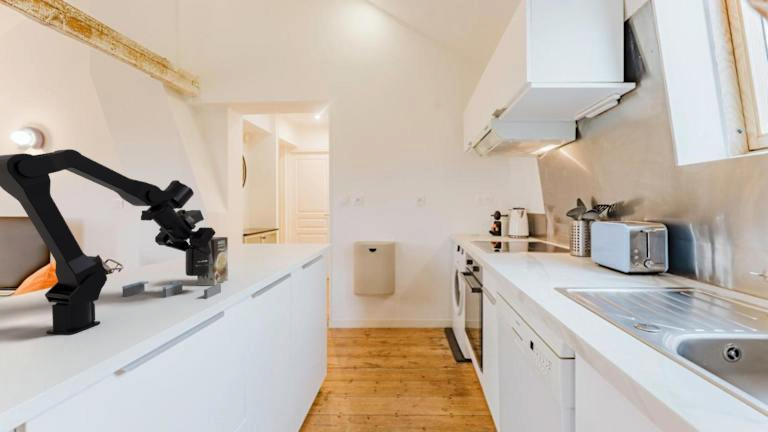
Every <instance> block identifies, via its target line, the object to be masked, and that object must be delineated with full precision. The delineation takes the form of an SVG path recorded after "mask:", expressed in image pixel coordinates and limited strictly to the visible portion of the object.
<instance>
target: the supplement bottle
mask: <svg viewBox="0 0 768 432" xmlns="http://www.w3.org/2000/svg"><path fill="white" fill-rule="evenodd" d="M188 240H189V241H188V243H189V246H187V247H186V252H185V275H186V276H188V277H197V276H201V275H207V274H209V273H210V255H208V254H205V253H203V252H201V251H199V250H197V249H194V248H192V247H193V246H194V245H192V244H191V239H188Z"/></svg>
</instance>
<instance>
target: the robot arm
mask: <svg viewBox="0 0 768 432" xmlns="http://www.w3.org/2000/svg"><path fill="white" fill-rule="evenodd" d="M64 170H65V171H68V172H69V173H72V174H75V175H77V176H80V177H81V178H84V179H86V180H88V181H91V182H92V183H95V184H97V185H100V186H102V187H104V188H107V189H108V190H111V191H113V192H115V193H116V194H117V195H118V196H119V197H120V198H121V199H123V200H124V201H126V202H127V203H129V204H130V205H132V206H134V207H148V208H147V209H146V210H141V215H140V220H141V221H150V222H151V221H154V222H155V223H156V225H158V226H159V227H160V228H159V229H158V231H159V232H158V233H157V235H156V236H155V237H154V241H155V243H156V244H157V245H159V246H164V247H166V248H172V249H175V250H178V251H181V252H184V253H186V247H187V246H189V245H190V243H189V241H188V240H189V239H191V244H192V245H194V246H193V247H192V248H194V249H197V250H199V251H201V252H203V253H205V254H208V255H210V254H211V249H210V246H209V241H210V240H211V239H212V237H214V236H215V235H216V234H217V233H216V231H215V229H214V228H213V227H207V226H206V227H204V226H203V227H199V228H198V229H197V230H196V231H195V230H194V229H195V228H196V227H197V225H196V224H198V223H200V222H203V221H204V220H205V218H204V216H203V213H202V210H200V209H196V210H195V209H191V210H186V209H183V208H184V206H185V205H186V204H187V203H188V202H189V201H190V199H191V198H192V197H193V196H194V190H193V189H192V188H191V187H190V186H188V185H186V184H185V183H182V182H180V180H178V179H177V180H176V179H175V180H172V181H171V182H170V183H169V185H168V186H166V188H165V189H164V190H163V189H161V188H160V187H159V186H157V185H155V184H152V183H148V182H147V181H143V180H139V179H138V180H137V179H133V178H129V177H127V176H125V175H123V174H122V173H120V172H118V171H115V170H113V169H112V168H109V167H107V166H106V165H104V164H101V163H99V162H98V161H95V160H94V159H92V158H89V157H87V156H86V155H83V154H82V153H81V152H79V151H77V150H75V149H69V148H68V149H58V150H54V151H52V152H46V153H40V154H34V155H33V154H30V153H26V152H24V153H15V154H11V153H10V154H2V155H1V154H0V188H1V189H2V190H3V191H5V192H6V193H7V194H9V195H10V196H11V197H13V198H14V199H16V201H18V202H19V204H20V205H21V207H22V208H23V210H24V211H25V213H26V216H27V217H28V218H29V220H30V222H31V223H32V225H33V226H34V228H35V230H36V231H37V233H38V235H39V236H40V238H41V239H42V241H43V242H44V245H46V247H47V249H48V251H49V253H50V254H51V256H52V257H53V259H54V261H55V276H56V279H57V282H56V283H55V284H54V285H53V286H52V287H50V289H48V290H47V291H46V293H45V294H44V296H45V299H46V300H47V302H48V303H53V304H52V305H51V308H52V309H51V311H52V312H51V313H52V314H51V315H52V328H50V329H48V330H46V334H61V335H62V334H63V335H64V334H65V335H71V334H78V333H79V332H82V331H84V330H87V329H89V328H92V327H95V326H97V325H100V324H101V321H99V320H96V304H95V301H98V300H99V298H100V295H101V292H102V289H103V287H104V286H105V284H106V283H107V281H108V277H107V276H108V275H107V273H108V272H109V270H108V269H106V268H105V267H104V265H103V262H102V259H101V257H99V256H93V255H86V254H85V253H84V251H83V249H82V248H81V247H80V245H79V243H78V241H77V239H76V238H75V236H74V234H73V232H72V230H71V228H70V227H69V225H68V223H67V221H66V220H65V218H64V216H63V214H62V212H61V211H60V210H59V207H58V206H57V204H56V202H55V200H54V199H53V197H52V194H51V177H50V174H53V173H58V172H61V171H64ZM176 209H178V210H177V211H176ZM193 230H194V231H193ZM54 303H55V304H54Z"/></svg>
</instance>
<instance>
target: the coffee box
mask: <svg viewBox="0 0 768 432" xmlns="http://www.w3.org/2000/svg"><path fill="white" fill-rule="evenodd" d="M228 240H229V239H228V237H227V236H215V237H214V236H213V237H212V239H211V240H210V241H209V246H210V249H211V254H210V273H209V274H207V275H201V276H196V277H197V279H196V280H197V286H211V287H213V286H215V285H217V284H221V283H224V282H226V281H228V280H229V266H228V265H229V255H228V254H229V252H228V251H229V248H228V247H229V246H228V245H229V242H228Z"/></svg>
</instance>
